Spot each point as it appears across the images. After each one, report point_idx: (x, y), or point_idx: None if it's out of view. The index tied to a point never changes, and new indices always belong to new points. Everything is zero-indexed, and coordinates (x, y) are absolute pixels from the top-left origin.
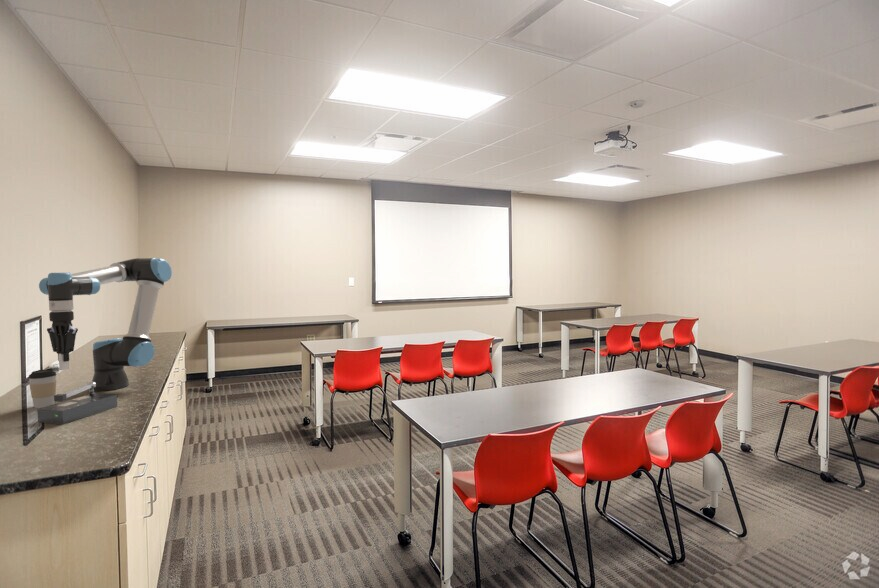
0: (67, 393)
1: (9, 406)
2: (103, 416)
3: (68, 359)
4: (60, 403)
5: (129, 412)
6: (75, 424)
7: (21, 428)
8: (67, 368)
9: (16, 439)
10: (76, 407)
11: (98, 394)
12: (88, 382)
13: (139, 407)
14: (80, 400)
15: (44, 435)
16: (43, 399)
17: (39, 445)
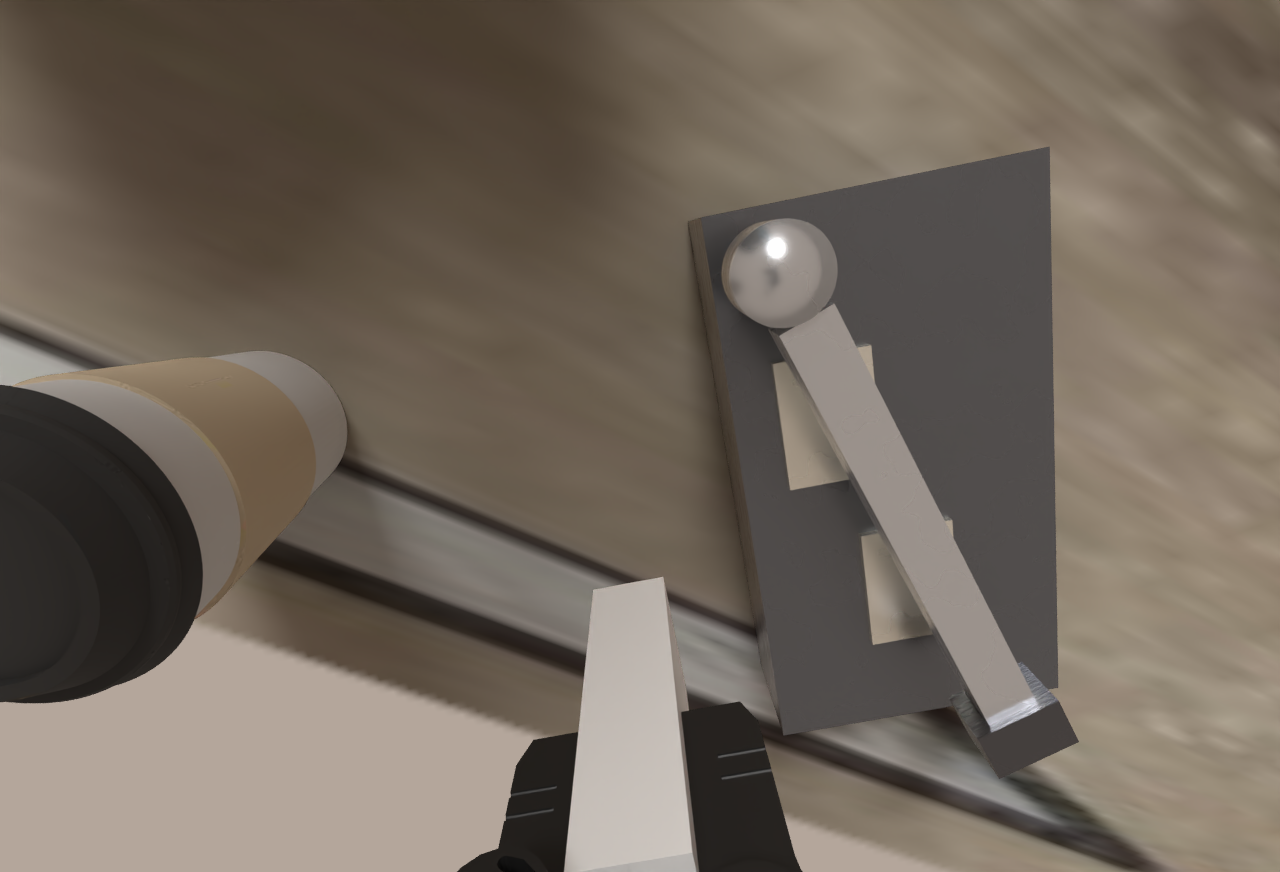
0: (1017, 667)
1: None
2: (1123, 403)
3: (763, 746)
4: (797, 583)
5: (1259, 241)
6: (1086, 592)
7: (803, 762)
8: (668, 609)
9: (999, 853)
10: (1051, 579)
11: (828, 235)
12: (735, 283)
13: (1227, 90)
14: None
15: (1096, 768)
16: (314, 487)
17: (1235, 847)
